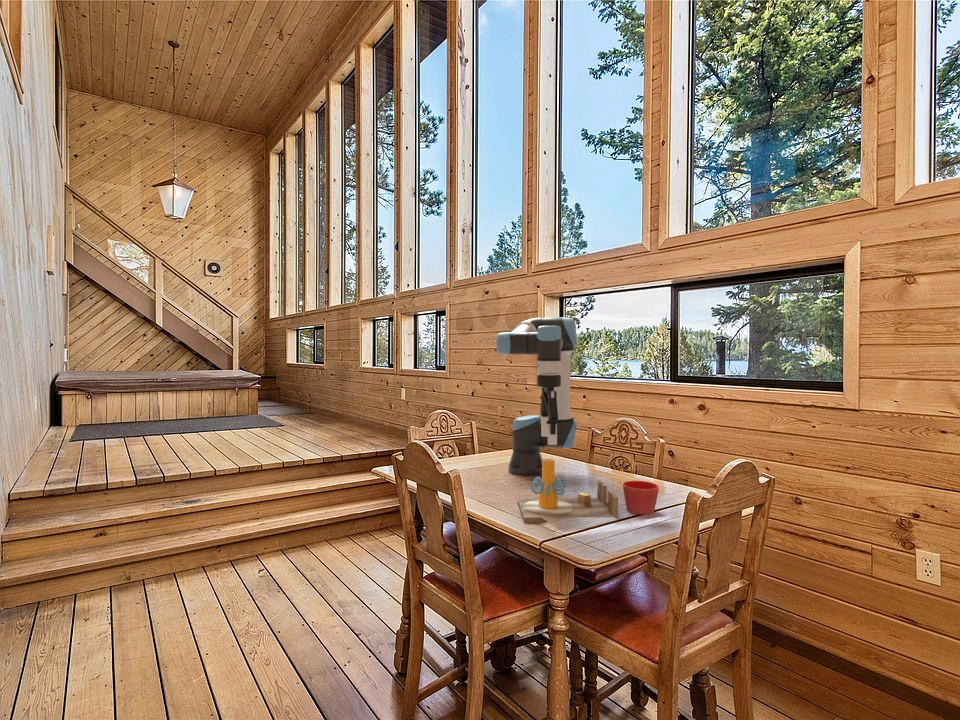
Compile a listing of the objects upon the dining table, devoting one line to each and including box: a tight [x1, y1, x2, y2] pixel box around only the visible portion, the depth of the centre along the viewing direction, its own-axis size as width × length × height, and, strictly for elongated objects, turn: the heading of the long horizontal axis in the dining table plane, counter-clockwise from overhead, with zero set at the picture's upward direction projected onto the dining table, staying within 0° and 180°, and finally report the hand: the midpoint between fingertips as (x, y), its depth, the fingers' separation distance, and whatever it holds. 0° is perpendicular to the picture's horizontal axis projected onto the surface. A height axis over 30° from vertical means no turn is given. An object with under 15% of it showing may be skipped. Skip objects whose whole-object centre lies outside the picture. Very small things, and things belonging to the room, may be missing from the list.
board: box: [516, 479, 620, 524], centre depth 170 cm, size 20×29×8 cm
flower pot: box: [622, 480, 660, 519], centre depth 167 cm, size 11×11×10 cm
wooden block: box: [577, 491, 592, 505], centre depth 174 cm, size 4×2×3 cm, turn 22°
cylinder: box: [530, 458, 566, 509], centre depth 170 cm, size 12×10×15 cm
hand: (548, 440), depth 169 cm, fingers open, 13 cm apart
